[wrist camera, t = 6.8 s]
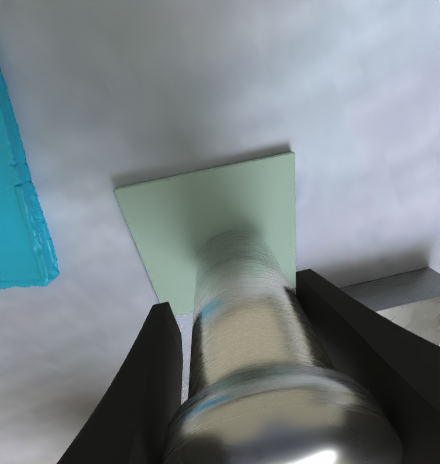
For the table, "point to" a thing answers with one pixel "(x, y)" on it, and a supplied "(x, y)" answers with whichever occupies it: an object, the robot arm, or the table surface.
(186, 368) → the table surface
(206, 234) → the mat
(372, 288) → the socket block
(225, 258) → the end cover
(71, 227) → the table surface
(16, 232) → the sponge
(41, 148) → the table surface
